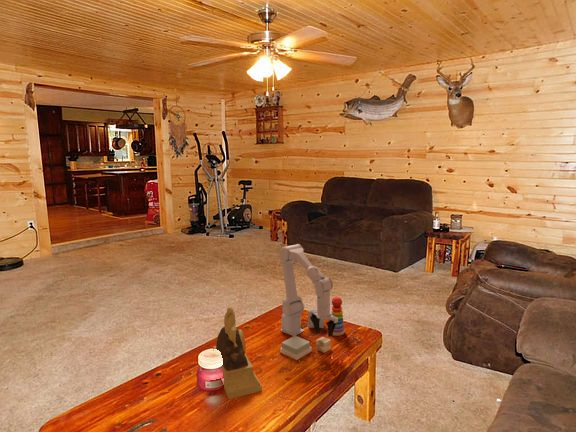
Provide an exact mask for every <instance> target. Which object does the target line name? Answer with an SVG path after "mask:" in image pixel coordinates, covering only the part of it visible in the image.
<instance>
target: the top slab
mask: <svg viewBox="0 0 576 432" xmlns="http://www.w3.org/2000/svg"><path fill="white" fill-rule="evenodd" d="M281 347H282V348H283V349H285V350H288V351H290V352H292V353H294V354H296V355H297V354H299V353H300V352H302V351H304V350H306V349H307V348H309V347H311V342H310V341H309V340H306V339H305V338H303V337H300V336H297V335H296V336H291V337H290V338H288V339H285V340H284V341H282V342H281Z"/></svg>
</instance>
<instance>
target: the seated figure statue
mask: <svg viewBox="0 0 576 432" xmlns="http://www.w3.org/2000/svg"><path fill="white" fill-rule="evenodd" d="M223 320H224V322H223V323H224V326H223V327H221V329H220V331H219V333H218V334H217V340H216V345H213V347H212V348H213V350H214V349H217V350H219V351H220V352H221V355H222V358H223V365H222V369H223V377H224V387H223V389H224V392H225V394H226V396H227V398H229V399H228V400H231V399H236V398H239V397H243V396H247V395H250V394H254V393H258V392H262V391H263V385H262V384H261V381H260V380H259V379H258V377H257V375H256V373H255V371H254V366H253V363H252V362H251V361H250V360H249V358H248V356H247V354H246V340H245V335H244V332H243V330H242V329H241V328H240V329H238V327H236V315H235V311H234V308H232V307H231V306H229V307H227V308H226V312H225V314H224V317H223Z"/></svg>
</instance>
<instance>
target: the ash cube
mask: <svg viewBox="0 0 576 432" xmlns="http://www.w3.org/2000/svg"><path fill="white" fill-rule="evenodd" d="M331 343H332V340H331V339H330V338H327V337H324V336H321V337H319V338H317V339H316V347H315V348H316V350H317V351H319V352H321V353H324V354H325V353H327V352H328V351H330V350H331V349H332V348H331V346H332V344H331Z"/></svg>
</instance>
